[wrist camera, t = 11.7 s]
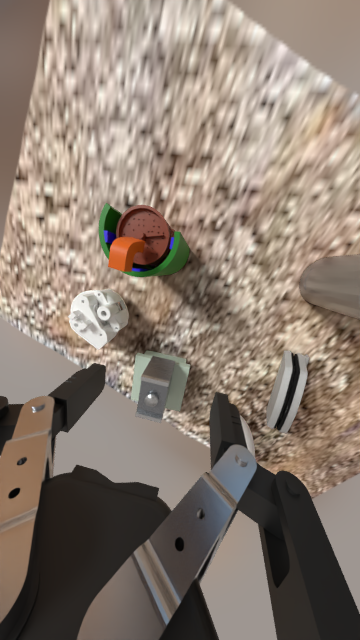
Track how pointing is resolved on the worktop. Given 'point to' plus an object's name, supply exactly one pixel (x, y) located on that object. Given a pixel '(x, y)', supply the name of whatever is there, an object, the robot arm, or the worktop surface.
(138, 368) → the stand
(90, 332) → the mechanical part
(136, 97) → the worktop surface
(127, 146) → the worktop surface
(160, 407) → the housing
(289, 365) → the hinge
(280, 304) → the worktop surface
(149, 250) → the motor
